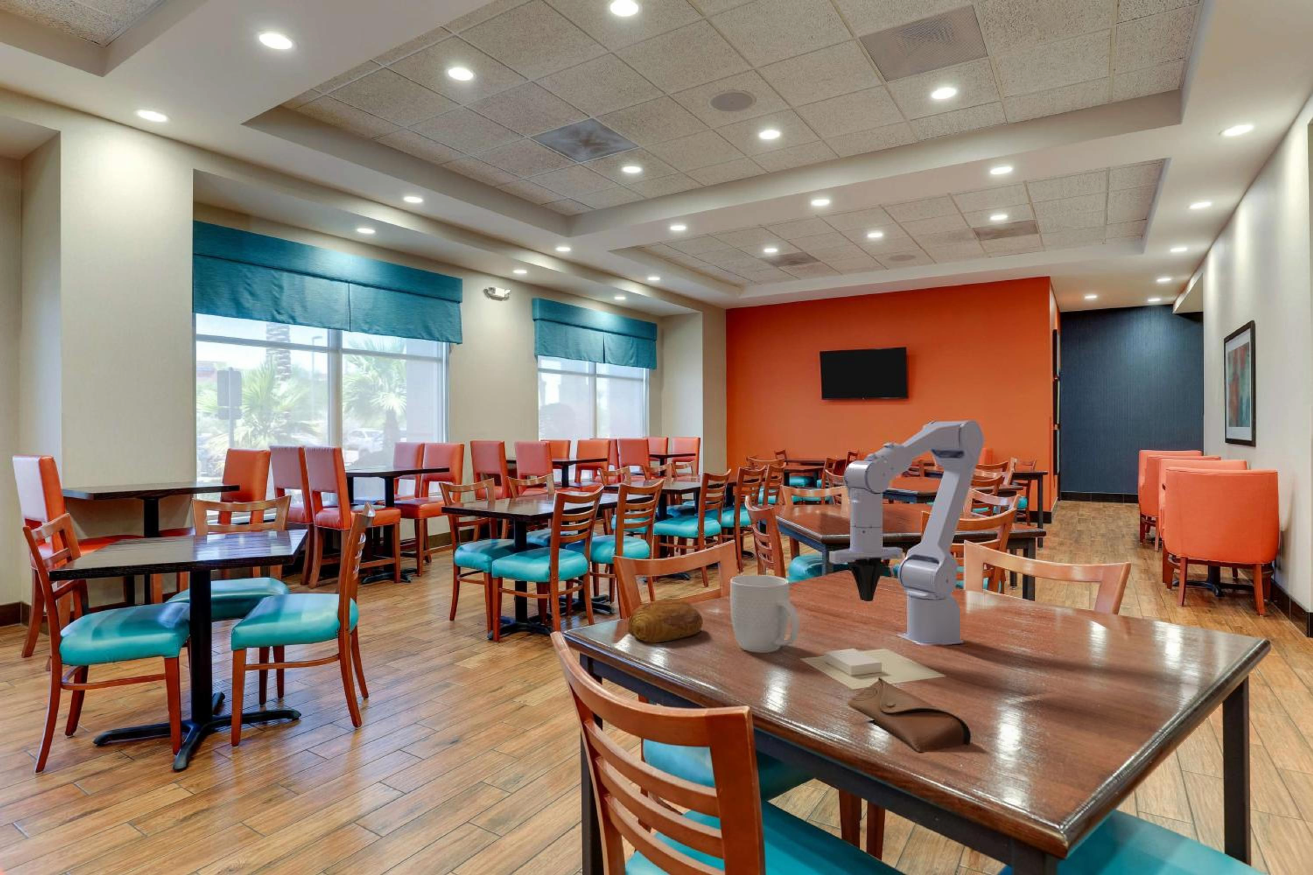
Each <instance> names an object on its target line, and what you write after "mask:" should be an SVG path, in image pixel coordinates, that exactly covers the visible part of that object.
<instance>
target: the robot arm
mask: <svg viewBox="0 0 1313 875" xmlns="http://www.w3.org/2000/svg"><path fill="white" fill-rule="evenodd" d="M985 440H986V439H985V437H984V434H983V430H982V428H981V426H980V424H979V423H978V421H976V420H972V419H969V420H968V419H967V420H954V421H953V420H951V421H939V420H932V421H930V422H929V423H926V424H924V425H922V429H921V430H920V431H918V432H917V433H916V434H914V435H912V437H910V438H909V439H907V440H906V441H904V442H903V443H901V444H900V443H897V442H886V443H884V444H883V448H881V449H880V450H877V451H876V452H874V453H869V454H868V455H866V458H864V460H854V461H852V462H850V464H848V465H847V467H846V469H845V471H844V475H842V480H843V484H844V486H845V488H846V491H847V498H848V500H849V506H850V507H849V509H850V510H849V511H850V512H849V524H850V525H849V528H850V530H849V532H850V534H849V535H850V536H849V542H850V545H849V548H846V549H839V550H834V551H833V550H831V551H828V552H829V553H828V554H829V556H828V557H829V560H828V561H829V563H832V564H835V565H837V564H839V565H840V564H841V563H846V564H847V566H848V568H849V570H850V572H851V575H853V577H854V581H855V584H856V587H857V590H858V594H859V599H860V600H862V601H864V602H873V600H874V597H875V593H876V589H877V586H878V584H879V581H880V578H881V576H882V575H883V573H884V571H885V569H887V562H885V561H882V560H892V559H893V560H894V559H895V560H902V559H903V556H904V555H903V553H904V552H903V548H901V547H897V546H894V547H893V546H891V547H889V546H888V547H883V546H884V545H883V543H884V542H883V541H884V540H883V536H884V534H883V531H884V530H883V520H884V519H883V518H884V516H883V513H884V512H883V510H884V509H883V505H884V504H883V500H884V499H883V498H884V497H883V494H884V493H883V492H886V491H887V490H888V488H889V486H890V483H891V482H892V480H894V479H895V478H897V477H898V476H899V475H901V474H903V473H904V472H906V471H908V470H909V469H910V468H911V466H912V462H913V460H914V459H916V458H918V457H920V456H923V455H924V454H926V453H928V452H929V453H930V454H931V456H932V458H933V459H934V461H935V462H936V463H937V465H939V466H941V467H942V468H943V474H942V477H941V481H940V483H939V487H938V490H937V493H936V497H935V499H934V501H933V504H932V509H931V511H930V514H929V518H928V521H927V523H926V526H925V529H924V532H923V535H922V539H921V541H920V543H918V544H916V545H914V546H912V547H911V548H910V549H909V548H908V550H907V553H906V556H905V557H904V559H903V560H902V561H901V562H900V564H899V566H898V568H897V578H898V579H897V580H898V583H899V585H900V586H901V587H902V588H903V593H904V594H906V596H907V597H906V610H907V611H906V618H907V619H906V629H907V630H906V631H907V632H906V633H898V634H897V636H899V637H901V638H903V639H906V640H908V641H910V642H913V643H916V644H919V645H921V646H923V647H924V646H934V645H935V646H936V645H943V646H948V645H957V644H958V645H959V644H963V643H964V640H963V639H961V609H960V604H959V602H958V599H956V597H955V596H953V595H952V594H953V592H954V591H955V589H956V587H957V581H958V580H957V574H958V573H957V572H958V568H959V563H958V561H957V559H956V558H955V557H954V556H953V554H952V552H950V550H951V547H952V544H953V540H954V539H955V538H954V537H955V535H956V532H957V529H958V528H957V527H958V524H959V521H960V519H961V516H962V512H963V510H964V507H965V503H966V500H967V497H968V494H969V490H970V487H971V484H972V481H973V477H974V474H975V471H976V467H977V465H978V463H979V460H980V456H981V453H982V450H983V447H984V444H985Z"/></svg>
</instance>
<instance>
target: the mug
mask: <svg viewBox="0 0 1313 875" xmlns="http://www.w3.org/2000/svg"><path fill="white" fill-rule="evenodd" d="M729 584H730V586H729V588H730V591H729V597H730V598H729V600H730V603H729V604H730V619H731V624H732V629H733V633H734V636H735V640H736V641H737V643H738V645H739V646H740V648H741V649H742V650H744V651H748V652H752V653H760V654H761V653H762V654H763V653H764V654H765V653H772V652H773V653H774V652H777V651H778V650H780V648H781V647H782V646H783V647H784V646H789V645H792V644H793V643H795V641H796V640H797V639H798V636H799V633H800V620H799V615H798V613H797V609H796V608H795V606H794V605H793V604H792V602H791V601H790V598H791V596H790V581H789V580H788V579H787V578H785V577H782V576H781V577H780V576H774V575H768V574H767V575H765V574H743V575H738V576H733V577H732V578H730V582H729ZM789 620H790V635H789V637H788V638H787V639H786V640H785V638H786V634H787V630H788V626H789Z"/></svg>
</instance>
